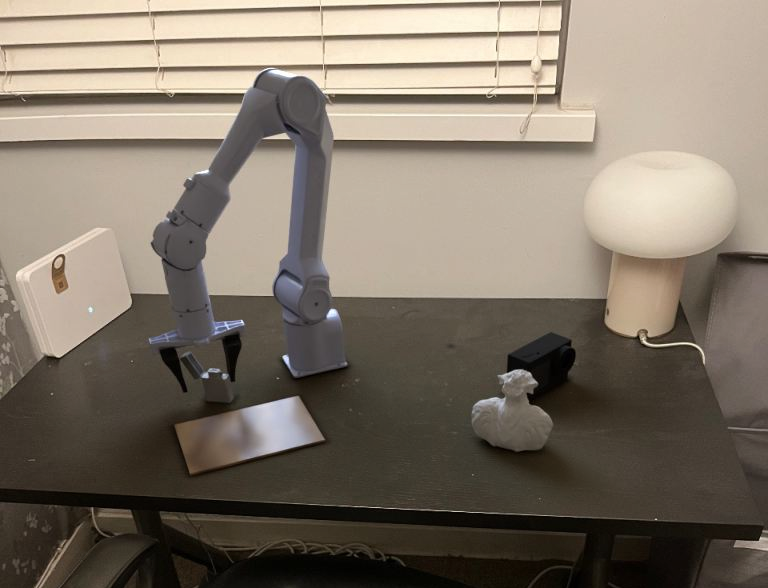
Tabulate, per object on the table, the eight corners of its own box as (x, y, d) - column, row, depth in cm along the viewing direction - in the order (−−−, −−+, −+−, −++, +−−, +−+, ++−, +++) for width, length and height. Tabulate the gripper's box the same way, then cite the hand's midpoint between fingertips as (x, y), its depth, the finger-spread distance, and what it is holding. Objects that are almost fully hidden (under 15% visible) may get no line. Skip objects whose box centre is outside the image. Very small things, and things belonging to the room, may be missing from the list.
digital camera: (531, 406, 118) (535, 365, 113) (505, 393, 121) (507, 353, 117) (573, 381, 123) (578, 341, 119) (547, 370, 126) (550, 331, 122)
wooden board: (298, 397, 123) (298, 395, 123) (325, 441, 113) (324, 439, 113) (174, 426, 118) (174, 424, 118) (190, 475, 108) (189, 473, 108)
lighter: (234, 397, 124) (225, 352, 119) (230, 402, 123) (221, 358, 118) (193, 394, 126) (183, 350, 121) (189, 399, 125) (178, 355, 119)
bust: (550, 460, 110) (571, 384, 109) (539, 456, 103) (561, 374, 102) (473, 441, 115) (492, 368, 114) (457, 436, 108) (478, 357, 107)
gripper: (145, 324, 109) (166, 406, 118) (244, 305, 113) (258, 385, 122) (139, 305, 115) (160, 385, 123) (234, 287, 118) (248, 366, 127)
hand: (208, 384), depth 123 cm, fingers open, 7 cm apart
